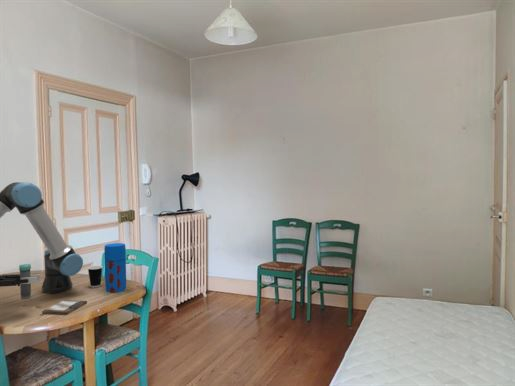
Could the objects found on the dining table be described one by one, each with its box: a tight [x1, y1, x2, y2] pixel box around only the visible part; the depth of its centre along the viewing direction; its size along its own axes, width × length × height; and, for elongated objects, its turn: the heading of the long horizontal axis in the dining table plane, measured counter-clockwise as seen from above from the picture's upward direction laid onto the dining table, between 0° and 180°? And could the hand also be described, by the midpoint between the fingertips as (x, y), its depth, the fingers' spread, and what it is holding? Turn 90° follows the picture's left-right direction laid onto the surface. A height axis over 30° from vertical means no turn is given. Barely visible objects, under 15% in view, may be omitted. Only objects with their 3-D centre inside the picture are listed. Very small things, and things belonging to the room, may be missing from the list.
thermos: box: [103, 242, 127, 294], centre depth 211 cm, size 11×11×25 cm
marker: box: [18, 263, 32, 300], centre depth 173 cm, size 4×4×15 cm
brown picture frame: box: [41, 299, 88, 316], centre depth 182 cm, size 16×12×2 cm
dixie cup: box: [87, 265, 103, 289], centre depth 218 cm, size 8×8×11 cm
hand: (38, 278), depth 174 cm, fingers closed on marker, 4 cm apart
